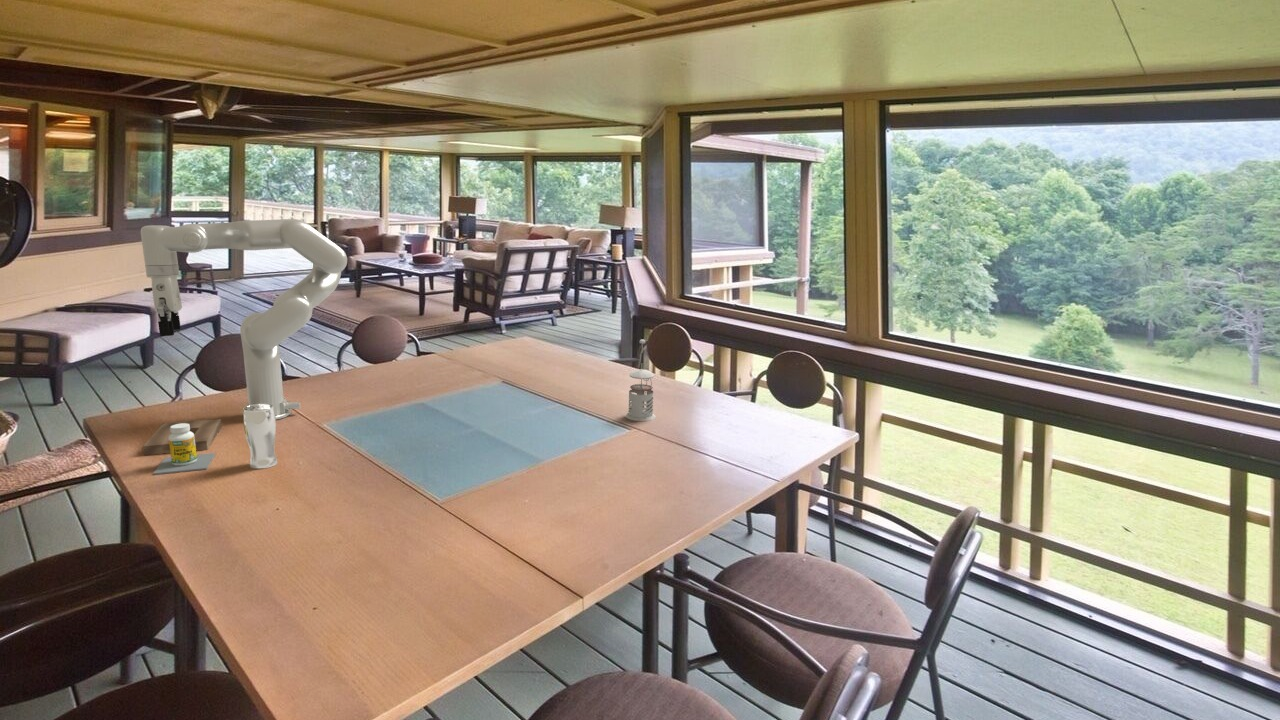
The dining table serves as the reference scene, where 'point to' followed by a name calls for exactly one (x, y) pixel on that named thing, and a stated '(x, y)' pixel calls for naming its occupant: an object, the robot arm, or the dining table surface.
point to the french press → (641, 396)
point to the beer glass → (260, 434)
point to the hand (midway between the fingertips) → (170, 332)
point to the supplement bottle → (182, 445)
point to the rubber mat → (200, 464)
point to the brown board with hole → (200, 429)
